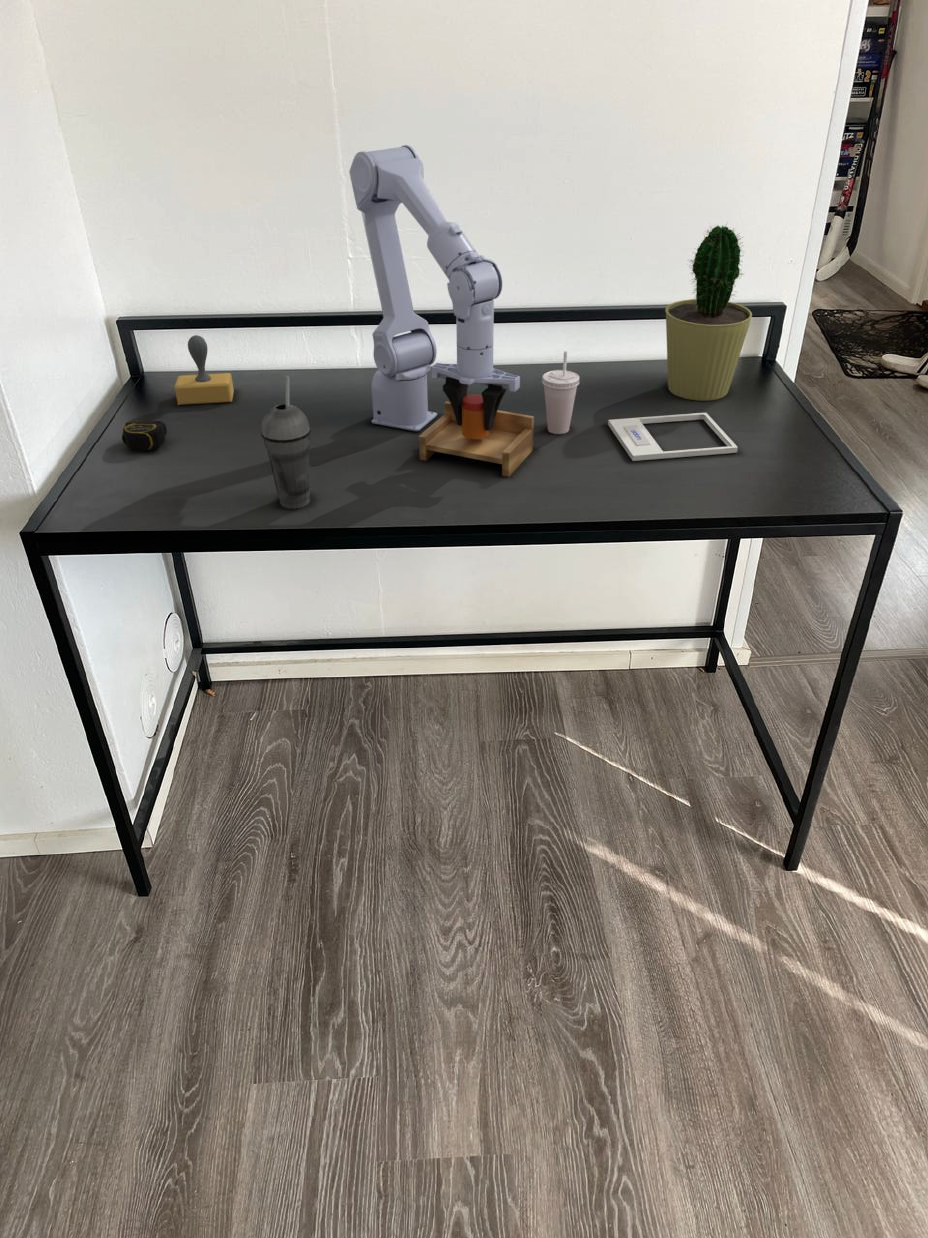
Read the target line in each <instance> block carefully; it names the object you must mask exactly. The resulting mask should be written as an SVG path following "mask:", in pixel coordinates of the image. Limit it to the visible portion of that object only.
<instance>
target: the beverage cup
mask: <svg viewBox="0 0 928 1238" xmlns="http://www.w3.org/2000/svg"><path fill="white" fill-rule="evenodd" d="M311 433H312V430H311V427H310V423H309V420H308V417H307V416H306V415H305V413H304V412H303V411H302V410H301V409H300V408H299V407H297V406H295V405H293V404H290V375H285V403H279V404H277V405H274V406H272V407H271V408H269V410H267V412H266V413H265V415H264V417H263V418H262V422H261V431H260V436H261V438H262V440H263V443H264V447H265V449H266V450H267V455H268V458H269V463H270V468H271V472H272V476H273V480H274V484H275V489H276V494H277V496H278V500H279V504H280V505H281V507H283V508H285V509H290V510H291V509H292V510H294V509H301V508H304V507H305V506H307V505H308V504H310V501H311V500H310V498H311V497H310V495H311V494H310V492H311V478H310V477H311V474H310V473H311V472H310V470H311V469H310V443H311Z"/></svg>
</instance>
